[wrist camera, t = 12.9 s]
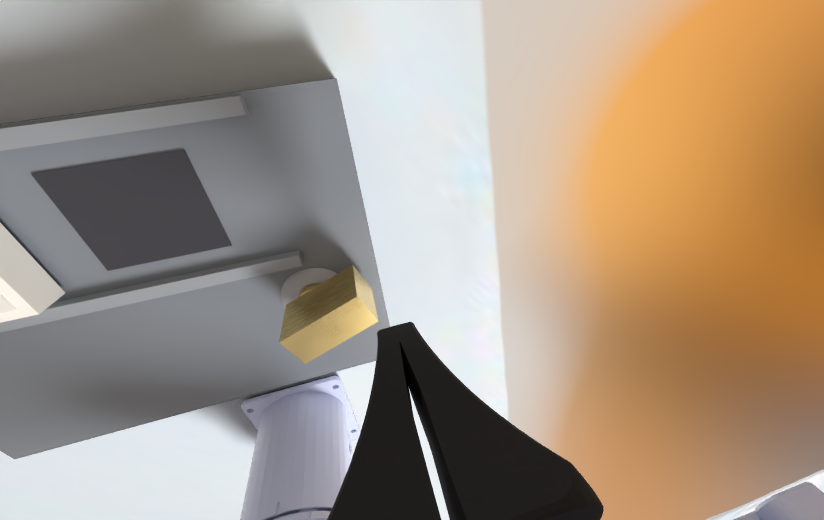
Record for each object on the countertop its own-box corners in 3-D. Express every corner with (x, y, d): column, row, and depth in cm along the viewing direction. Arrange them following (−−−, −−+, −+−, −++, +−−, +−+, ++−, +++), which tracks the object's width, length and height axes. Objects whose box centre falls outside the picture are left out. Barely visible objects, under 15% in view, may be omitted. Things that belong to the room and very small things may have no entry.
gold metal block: (309, 317, 19) (305, 363, 16) (287, 296, 18) (278, 342, 15) (370, 281, 19) (378, 321, 15) (351, 258, 18) (357, 296, 14)
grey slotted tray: (390, 332, 25) (398, 365, 22) (45, 422, 21) (0, 476, 18) (335, 78, 15) (336, 77, 12) (-306, 166, 12) (-517, 194, 9)
